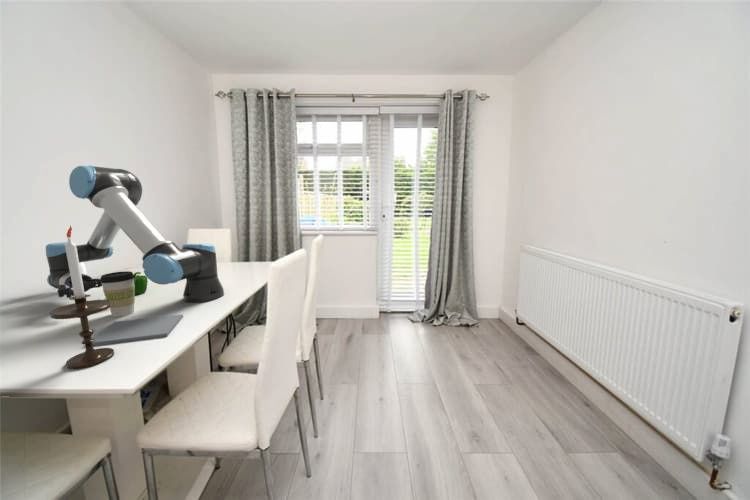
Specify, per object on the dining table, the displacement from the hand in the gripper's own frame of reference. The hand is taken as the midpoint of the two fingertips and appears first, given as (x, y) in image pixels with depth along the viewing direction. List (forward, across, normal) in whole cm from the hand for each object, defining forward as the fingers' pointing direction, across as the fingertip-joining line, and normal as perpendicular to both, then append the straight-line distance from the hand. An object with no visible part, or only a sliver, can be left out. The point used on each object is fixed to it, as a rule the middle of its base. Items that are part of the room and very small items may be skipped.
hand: (105, 288), depth 110 cm
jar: (-45, -7, -9) cm, 47 cm away
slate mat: (+31, +6, -8) cm, 33 cm away
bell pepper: (-13, -16, -9) cm, 22 cm away
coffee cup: (+10, 0, -9) cm, 13 cm away
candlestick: (+39, +22, -9) cm, 46 cm away
